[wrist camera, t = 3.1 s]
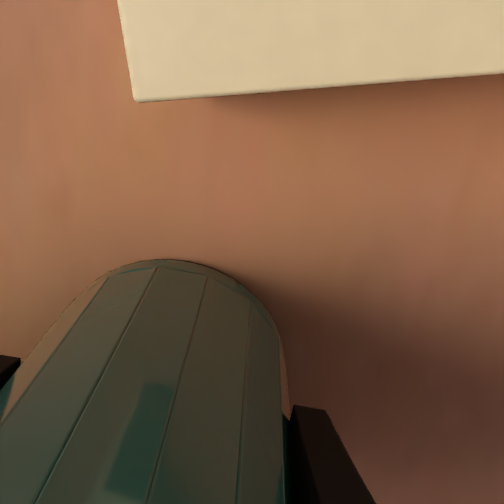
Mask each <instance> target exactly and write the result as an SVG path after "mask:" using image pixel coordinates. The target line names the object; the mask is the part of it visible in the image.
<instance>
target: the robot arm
mask: <svg viewBox="0 0 504 504" xmlns="http://www.w3.org/2000/svg"><path fill="white" fill-rule="evenodd" d="M20 365H21V363H20V358H16V357H10V356H4V355H0V390H1V389H2V388H3V386H4V385H5V384H6V383H7V381H8V380H9V379H10V378H11V376H12V375H13V374H14V373H15V371H16V370H17V369H18V368H19V366H20ZM290 438H291V455H292V469H293V482H294V498H295V504H376V502H375V501H374V499H373V497H372V495H371V494H370V492H369V490H368V489H367V487H366V485H365V483H364V482H363V480H362V478H361V476H360V475H359V473H358V471H357V469H356V467H355V465H354V464H353V462H352V460H351V458H350V456H349V454H348V452H347V451H346V449H345V447H344V445H343V443H342V441H341V439H340V437H339V435H338V433H337V431H336V429H335V427H334V425H333V423H332V421H331V419H330V418H329V416H328V414H327V413H326V411H325V410H321V409H315V408H309V407H303V406H298V405H294V406H293V410H292V414H291V417H290Z"/></svg>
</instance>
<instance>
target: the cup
mask: <svg viewBox="0 0 504 504" xmlns="http://www.w3.org/2000/svg"><path fill="white" fill-rule="evenodd" d="M0 504H295V498H294V482H293V469H292V455H291V438H290V416H289V399H288V383H287V372H286V368H285V361H284V351H283V344H282V341H281V338H280V334H279V331H278V329H277V327H276V325H275V323H274V321H273V319H272V317H271V316H270V314H269V313H268V311H267V310H266V308H265V307H264V306H263V305H262V304H261V302H260V301H259V300H258V299H257V298H256V297H255V296H254V295H253V294H252V293H251V292H249V291H248V290H247V289H246V288H245V287H244V286H242V285H241V284H239V283H238V282H236V281H235V280H233V279H232V278H230V277H228V276H226V275H224V274H222V273H220V272H218V271H216V270H213V269H211V268H208V267H205V266H203V265H199V264H194V263H190V262H185V261H177V260H150V261H142V262H137V263H133V264H129V265H125V266H122V267H120V268H117V269H115V270H112V271H110V272H108V273H107V274H105V275H103V276H101V277H100V278H98V279H97V280H95V281H94V282H93V283H92V284H90V285H89V286H88V287H87V288H86V289H85V290H84V291H83V292H82V293H81V294H80V295H79V296H78V297H77V298H75V299H74V300H73V301H72V302H71V303H70V305H69V306H68V307H67V308H66V309H65V311H64V312H63V313H62V314H61V316H60V317H59V318H58V319H57V321H56V322H55V323H54V324H53V326H52V327H51V328H50V329H49V331H48V332H47V333H46V334H45V335H44V337H43V338H42V339H41V340H40V342H39V343H38V344H37V345H36V347H35V348H34V349H33V350H32V352H31V353H30V354H29V355H28V357H27V358H26V359H25V360H24V362H23V363H22V364H21V365H20V366H19V368H18V369H17V370H16V371H15V373H14V374H13V375H12V376H11V378H10V379H9V380H8V381H7V383H6V384H5V385H4V386H3V388H2V389H1V390H0Z"/></svg>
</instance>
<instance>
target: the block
mask: <svg viewBox="0 0 504 504" xmlns="http://www.w3.org/2000/svg"><path fill="white" fill-rule="evenodd" d="M117 2H118V8H119V14H120V20H121V26H122V32H123V38H124V44H125V50H126V56H127V62H128V68H129V74H130V80H131V86H132V92H133V98H134V100H135V101H136V102H139V103H144V102H156V101H169V100H181V99H194V98H206V97H219V96H231V95H244V94H256V93H268V92H281V91H293V90H306V89H318V88H331V87H343V86H356V85H368V84H381V83H393V82H406V81H418V80H431V79H443V78H456V77H468V76H481V75H493V74H504V0H117Z"/></svg>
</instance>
